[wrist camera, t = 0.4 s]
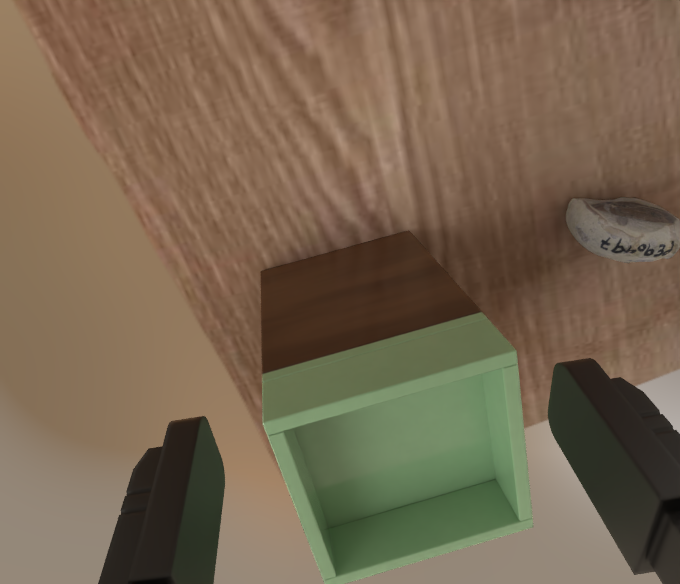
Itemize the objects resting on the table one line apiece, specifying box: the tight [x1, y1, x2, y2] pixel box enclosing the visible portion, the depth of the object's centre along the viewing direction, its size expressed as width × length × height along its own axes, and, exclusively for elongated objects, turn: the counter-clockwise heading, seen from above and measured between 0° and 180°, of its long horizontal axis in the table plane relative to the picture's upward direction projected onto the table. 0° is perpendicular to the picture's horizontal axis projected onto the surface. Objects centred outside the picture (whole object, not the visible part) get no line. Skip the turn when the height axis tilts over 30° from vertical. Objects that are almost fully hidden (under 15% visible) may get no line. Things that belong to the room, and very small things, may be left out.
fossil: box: [566, 197, 680, 263], centre depth 30 cm, size 6×3×5 cm, turn 90°
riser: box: [261, 231, 481, 374], centre depth 27 cm, size 9×9×11 cm
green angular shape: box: [262, 312, 533, 584], centre depth 21 cm, size 9×9×3 cm
